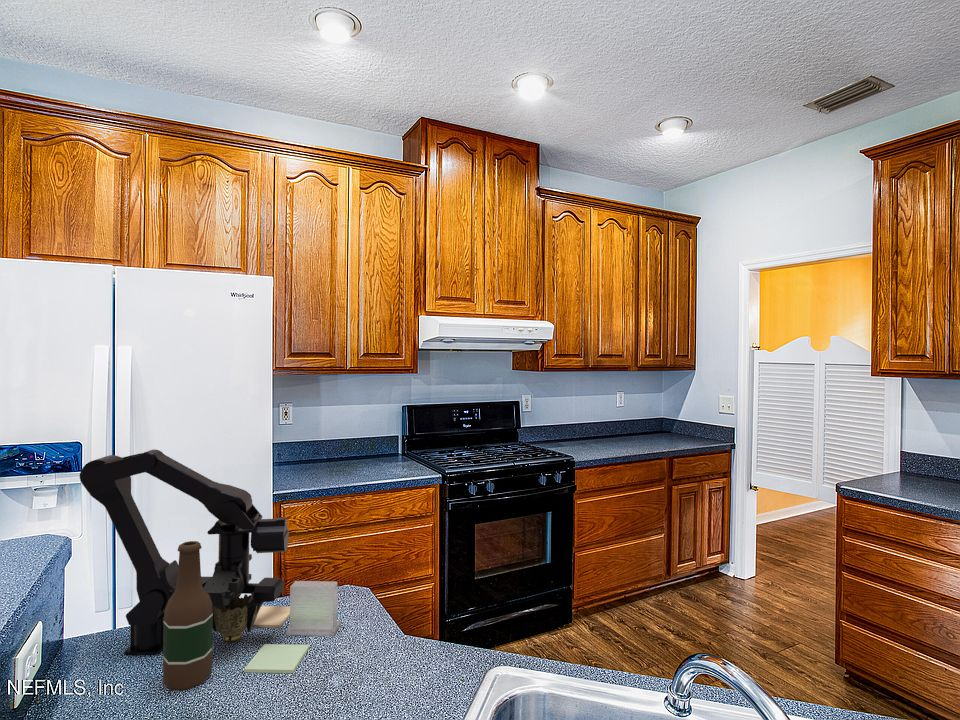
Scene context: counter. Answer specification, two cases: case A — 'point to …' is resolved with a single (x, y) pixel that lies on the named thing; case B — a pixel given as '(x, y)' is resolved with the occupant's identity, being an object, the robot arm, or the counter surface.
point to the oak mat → (271, 616)
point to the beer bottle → (188, 625)
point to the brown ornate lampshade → (232, 618)
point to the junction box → (313, 608)
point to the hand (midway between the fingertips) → (232, 631)
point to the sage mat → (277, 658)
